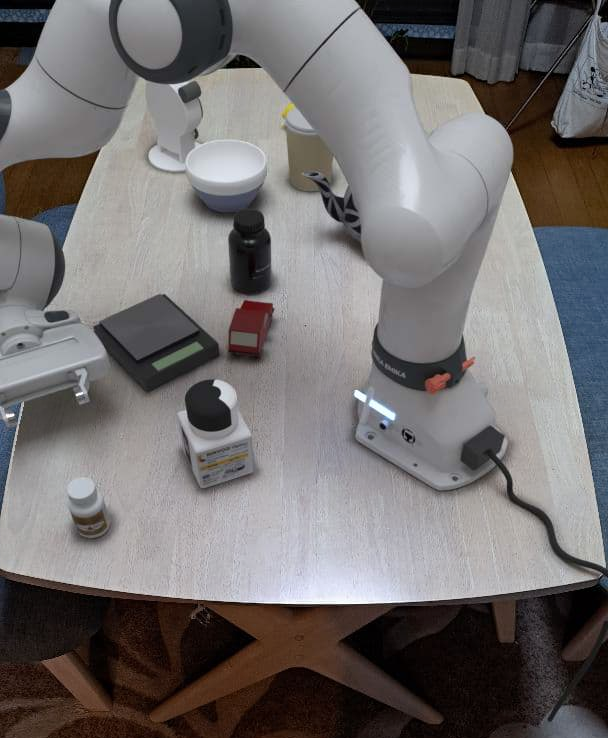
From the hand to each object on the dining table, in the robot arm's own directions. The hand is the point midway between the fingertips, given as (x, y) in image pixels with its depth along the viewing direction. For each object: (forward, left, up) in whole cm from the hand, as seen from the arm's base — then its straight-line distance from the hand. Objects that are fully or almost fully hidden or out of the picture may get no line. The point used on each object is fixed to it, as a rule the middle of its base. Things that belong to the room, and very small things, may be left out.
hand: (47, 411), depth 103 cm
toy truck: (+5, -36, -10) cm, 37 cm away
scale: (+12, -23, -10) cm, 27 cm away
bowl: (+38, -55, -10) cm, 67 cm away
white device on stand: (+56, -56, -10) cm, 80 cm away
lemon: (+50, -81, -10) cm, 95 cm away
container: (-13, -17, -10) cm, 23 cm away
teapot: (+12, -71, -10) cm, 72 cm away
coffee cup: (+34, -71, -10) cm, 79 cm away
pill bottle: (-12, +2, -10) cm, 16 cm away
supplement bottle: (+16, -44, -10) cm, 47 cm away
